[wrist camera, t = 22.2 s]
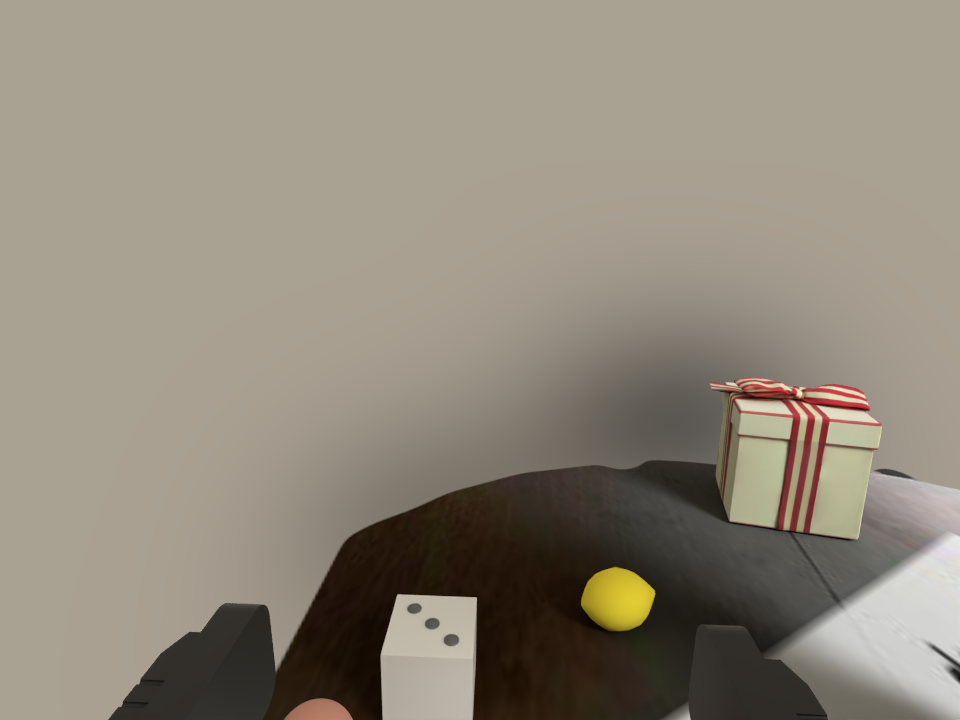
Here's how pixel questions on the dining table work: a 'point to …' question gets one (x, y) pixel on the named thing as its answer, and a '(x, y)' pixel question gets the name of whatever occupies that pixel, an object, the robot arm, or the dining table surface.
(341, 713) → the pawn
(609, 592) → the lemon
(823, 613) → the dining table surface
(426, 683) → the die
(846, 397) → the gift box
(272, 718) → the dining table surface
